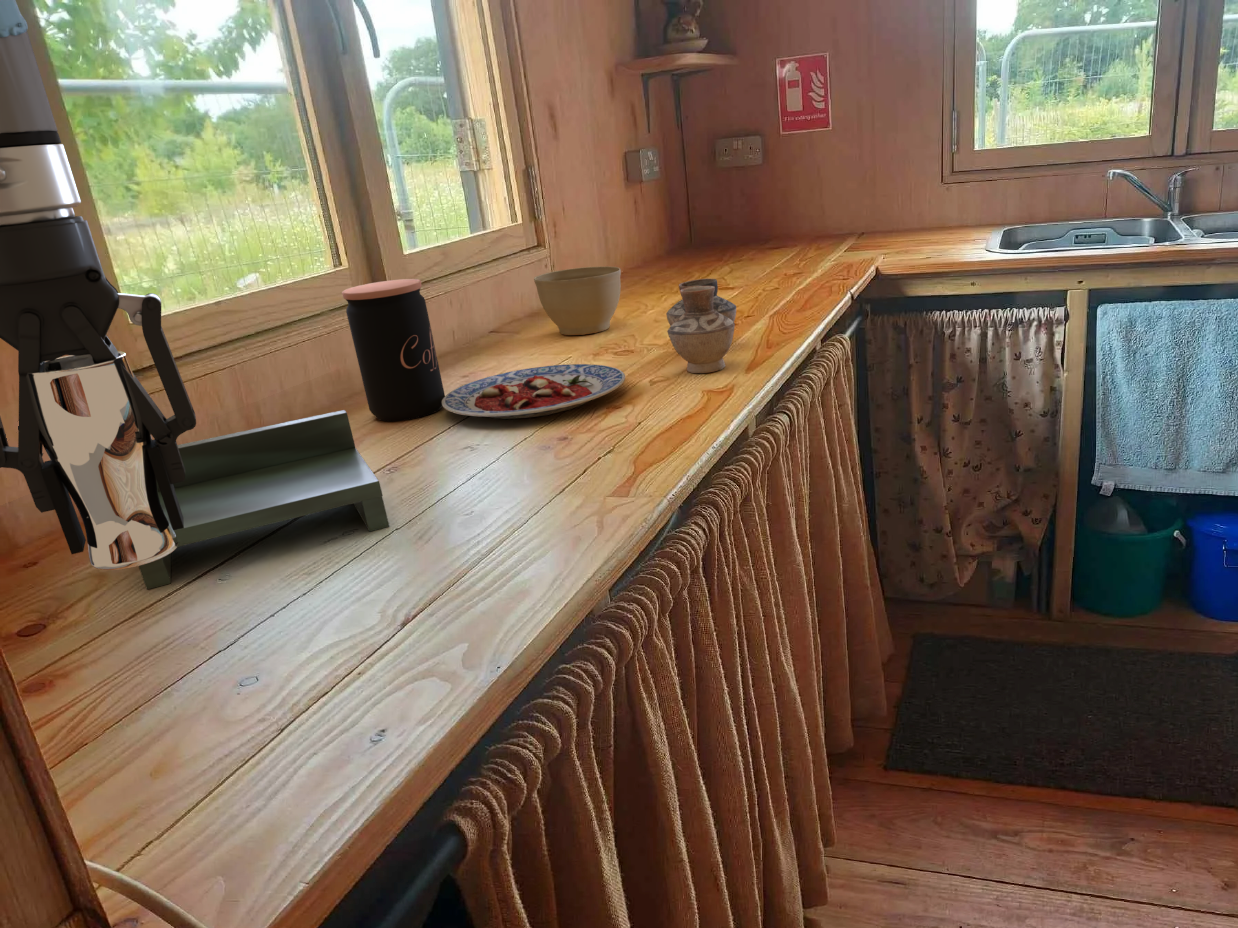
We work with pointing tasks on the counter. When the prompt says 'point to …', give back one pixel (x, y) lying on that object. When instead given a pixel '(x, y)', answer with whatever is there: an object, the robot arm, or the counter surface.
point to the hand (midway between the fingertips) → (129, 534)
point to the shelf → (269, 481)
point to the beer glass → (102, 458)
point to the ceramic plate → (533, 391)
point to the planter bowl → (580, 298)
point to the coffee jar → (395, 349)
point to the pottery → (701, 325)
